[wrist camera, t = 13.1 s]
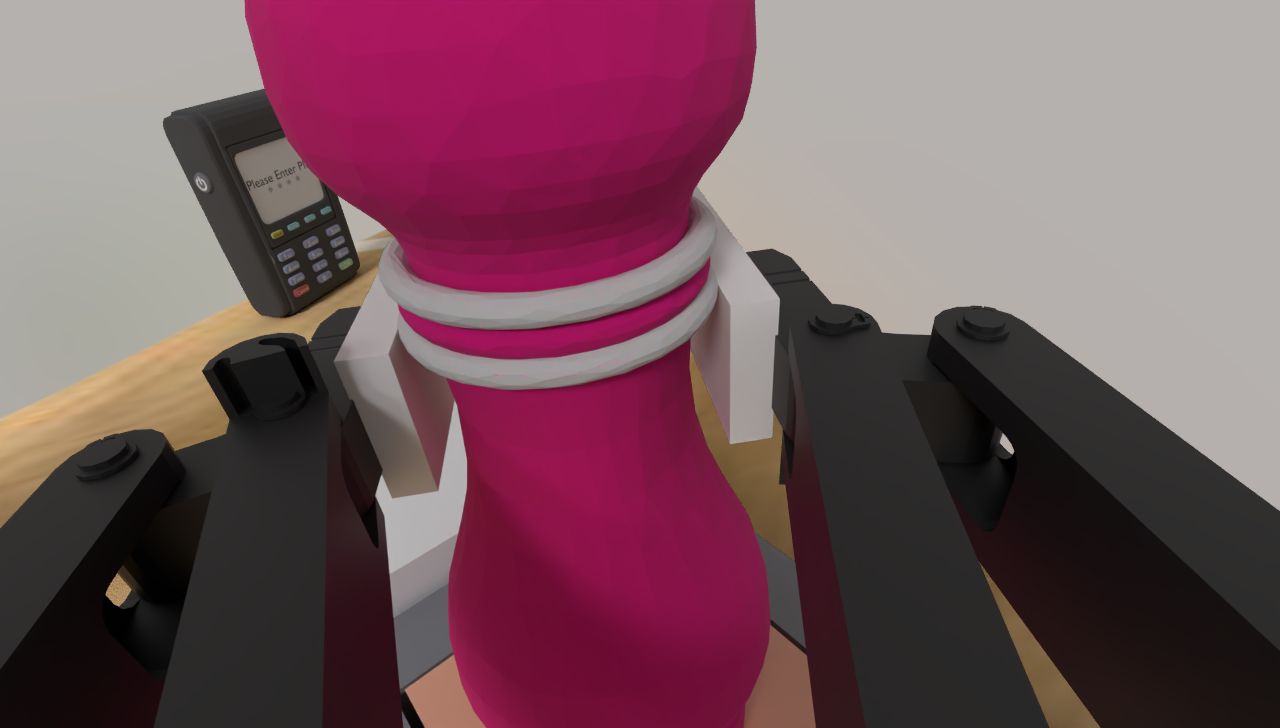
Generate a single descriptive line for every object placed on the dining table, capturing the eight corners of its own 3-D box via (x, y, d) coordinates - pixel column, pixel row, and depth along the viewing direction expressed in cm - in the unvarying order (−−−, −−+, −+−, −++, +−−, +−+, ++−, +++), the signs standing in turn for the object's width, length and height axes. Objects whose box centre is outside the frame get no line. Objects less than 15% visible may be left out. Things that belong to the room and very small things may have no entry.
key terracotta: (610, 1073, 13) (594, 1043, 11) (432, 741, 19) (404, 689, 17) (855, 762, 18) (868, 708, 16) (650, 572, 24) (644, 518, 22)
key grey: (384, 651, 20) (354, 595, 19) (306, 506, 26) (278, 454, 25) (599, 508, 25) (590, 452, 23) (491, 412, 31) (478, 362, 29)
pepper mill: (800, 642, 18) (925, -443, 6) (692, 938, 12) (424, -1721, 1) (590, 554, 21) (435, -273, 10) (437, 761, 16) (-256, -482, 5)
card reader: (288, 324, 46) (192, 114, 38) (249, 319, 47) (148, 115, 39) (370, 272, 53) (304, 85, 45) (334, 268, 54) (263, 86, 46)
